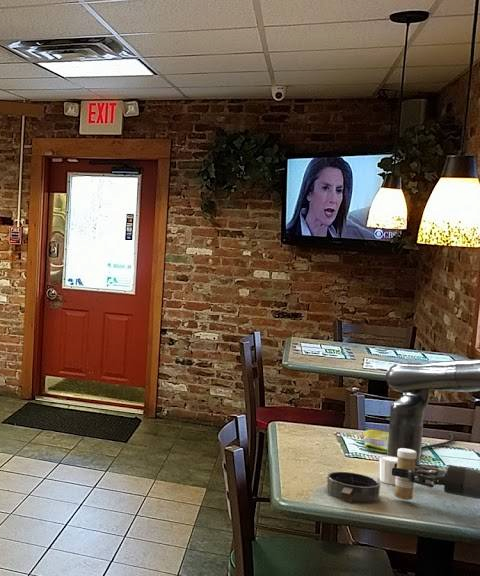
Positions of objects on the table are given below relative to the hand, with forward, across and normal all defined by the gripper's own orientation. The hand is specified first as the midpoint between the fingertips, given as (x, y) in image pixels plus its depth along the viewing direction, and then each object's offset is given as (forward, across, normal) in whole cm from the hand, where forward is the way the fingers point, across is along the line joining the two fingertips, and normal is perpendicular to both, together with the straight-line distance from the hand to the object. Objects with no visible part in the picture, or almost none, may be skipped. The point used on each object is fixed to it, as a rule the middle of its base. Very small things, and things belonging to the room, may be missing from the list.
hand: (393, 468), depth 213 cm
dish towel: (+7, -61, +9) cm, 62 cm away
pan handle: (+9, +14, +8) cm, 18 cm away
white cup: (+2, -17, +9) cm, 19 cm away
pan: (+9, +4, +8) cm, 13 cm away
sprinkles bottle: (-3, 0, +8) cm, 8 cm away
